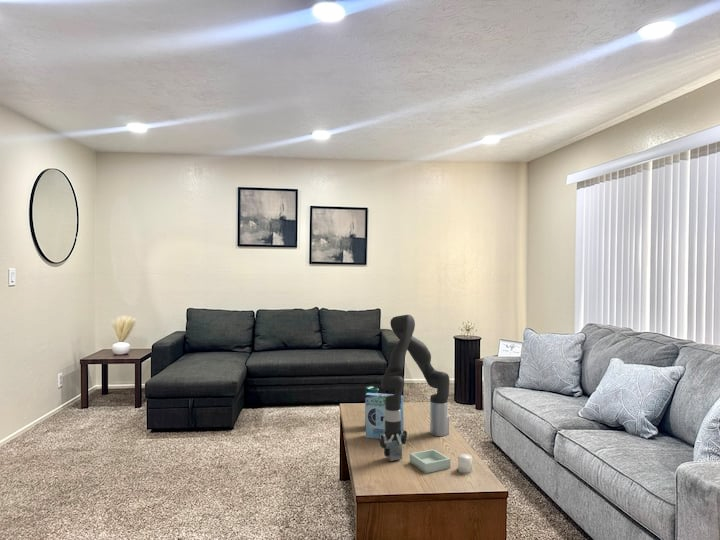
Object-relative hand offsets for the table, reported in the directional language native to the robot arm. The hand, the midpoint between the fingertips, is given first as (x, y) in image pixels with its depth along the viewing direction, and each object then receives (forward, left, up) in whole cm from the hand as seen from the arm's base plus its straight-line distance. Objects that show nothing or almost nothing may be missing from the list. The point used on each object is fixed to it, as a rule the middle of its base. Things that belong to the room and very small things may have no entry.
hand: (393, 454), depth 222 cm
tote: (-12, +13, -2) cm, 18 cm away
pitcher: (-13, -44, -2) cm, 46 cm away
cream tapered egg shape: (-23, +24, -2) cm, 33 cm away
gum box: (-10, -26, -2) cm, 28 cm away
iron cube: (0, 0, -1) cm, 1 cm away
